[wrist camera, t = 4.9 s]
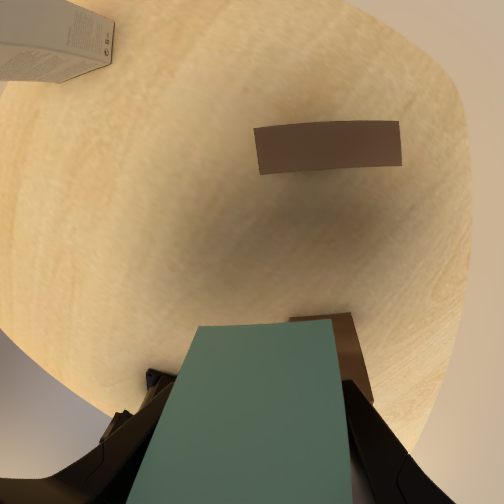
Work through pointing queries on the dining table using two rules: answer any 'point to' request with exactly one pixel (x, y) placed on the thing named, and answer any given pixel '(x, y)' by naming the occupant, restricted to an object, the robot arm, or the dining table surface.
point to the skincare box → (51, 40)
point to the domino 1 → (252, 421)
